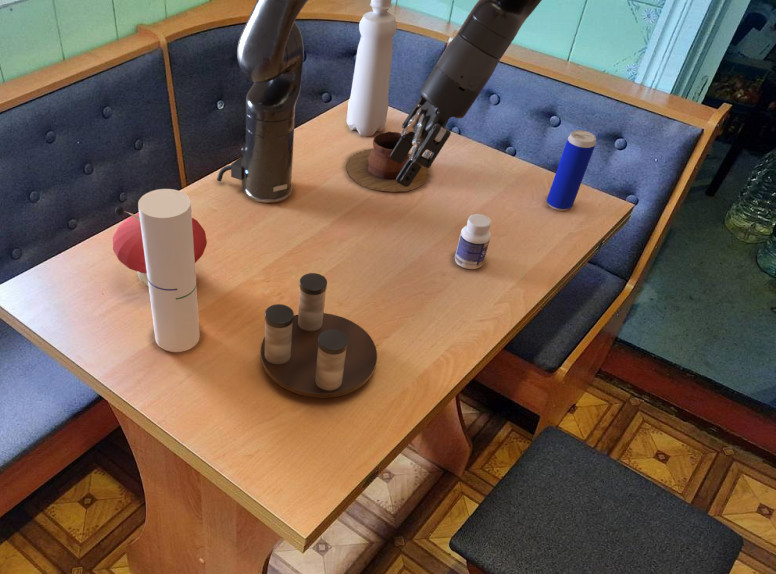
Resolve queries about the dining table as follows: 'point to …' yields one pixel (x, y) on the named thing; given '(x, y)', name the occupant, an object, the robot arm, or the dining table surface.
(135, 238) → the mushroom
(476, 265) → the pill bottle
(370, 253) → the dining table surface
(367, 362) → the spice rack
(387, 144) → the ceramic pot
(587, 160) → the beverage can
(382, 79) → the bottle
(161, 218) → the cylindrical container
